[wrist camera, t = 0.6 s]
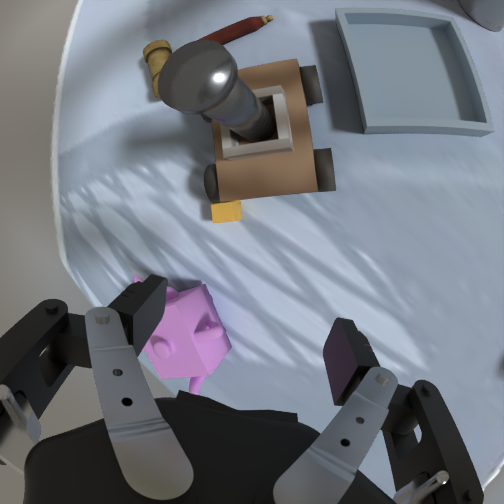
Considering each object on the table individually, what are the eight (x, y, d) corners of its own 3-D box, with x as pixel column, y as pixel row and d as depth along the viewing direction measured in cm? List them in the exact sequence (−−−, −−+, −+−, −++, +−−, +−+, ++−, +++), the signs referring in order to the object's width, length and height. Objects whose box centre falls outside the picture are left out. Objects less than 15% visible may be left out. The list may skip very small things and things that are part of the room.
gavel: (257, -9, 26) (284, 29, 27) (263, 7, 31) (288, 45, 31) (137, 50, 32) (148, 93, 33) (152, 60, 36) (164, 102, 37)
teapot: (260, 312, 38) (232, 350, 28) (223, 372, 43) (193, 412, 32) (174, 257, 41) (127, 276, 31) (151, 321, 45) (110, 348, 35)
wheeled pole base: (212, 95, 34) (184, 75, 27) (317, 75, 30) (311, 46, 22) (222, 202, 37) (194, 204, 30) (335, 191, 32) (336, 188, 25)
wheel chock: (218, 195, 37) (209, 195, 34) (239, 192, 36) (231, 192, 33) (221, 221, 38) (212, 223, 35) (242, 219, 37) (234, 221, 34)
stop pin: (234, 109, 29) (157, 55, 14) (278, 101, 27) (227, 30, 13) (238, 151, 29) (158, 119, 15) (284, 144, 28) (234, 97, 14)
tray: (336, 23, 27) (334, 8, 23) (446, 29, 21) (453, 17, 18) (363, 134, 30) (367, 126, 26) (481, 137, 24) (494, 131, 21)
